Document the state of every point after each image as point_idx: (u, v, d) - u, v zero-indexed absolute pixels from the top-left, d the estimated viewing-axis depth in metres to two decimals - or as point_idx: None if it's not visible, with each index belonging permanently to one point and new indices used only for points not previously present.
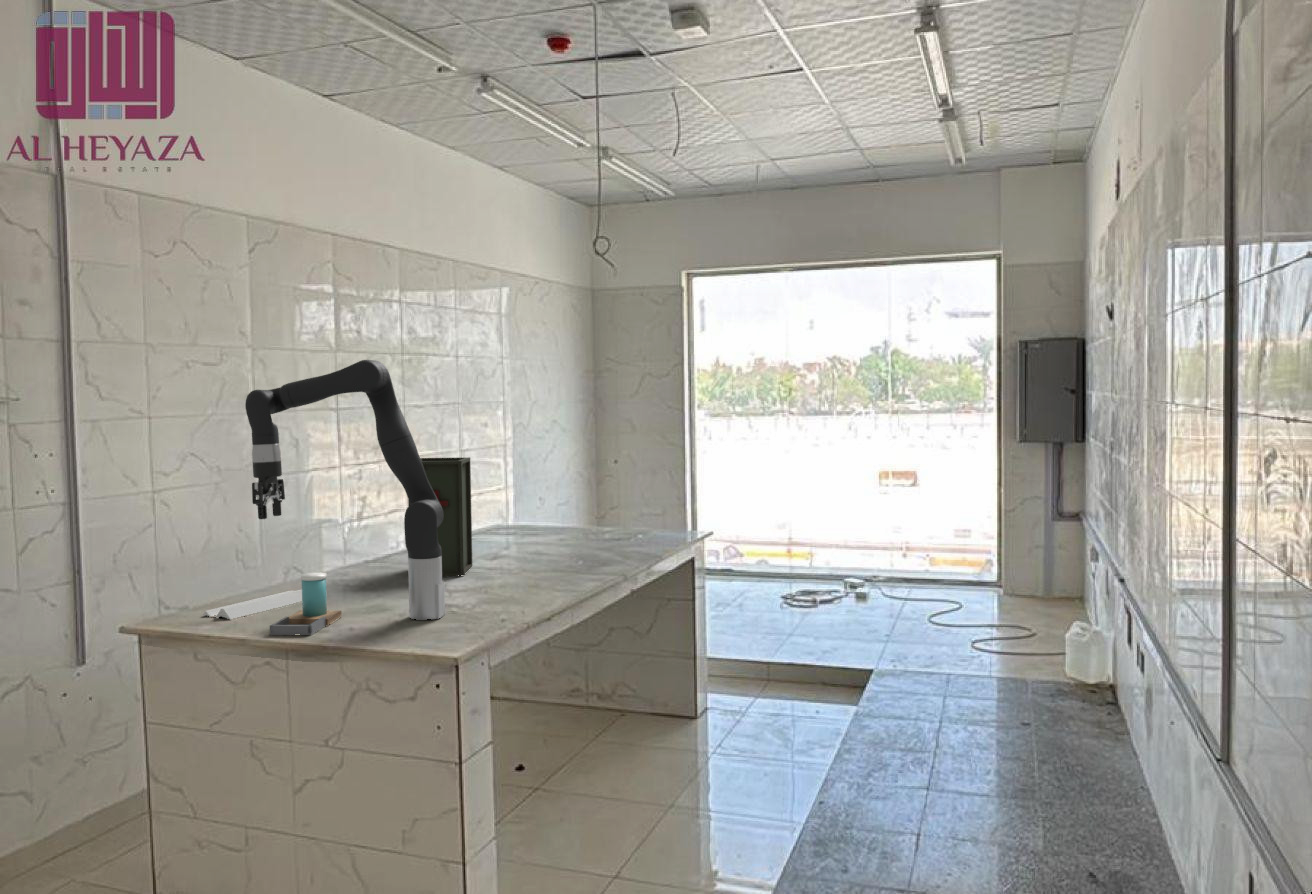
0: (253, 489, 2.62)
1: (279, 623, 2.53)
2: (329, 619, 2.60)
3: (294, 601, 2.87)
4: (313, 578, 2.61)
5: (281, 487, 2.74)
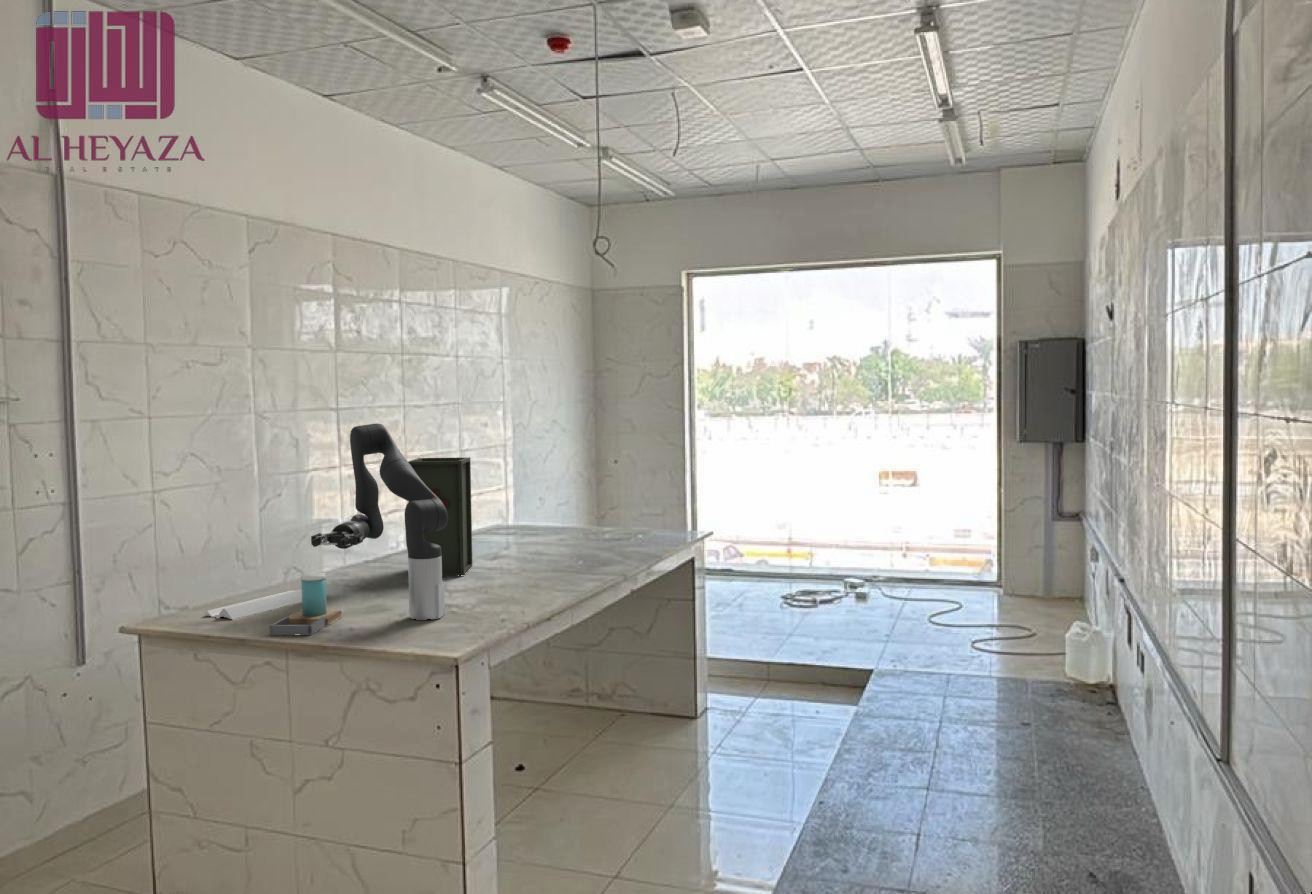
0: None
1: (279, 623, 2.53)
2: (329, 619, 2.60)
3: (295, 601, 2.87)
4: (313, 578, 2.61)
5: None
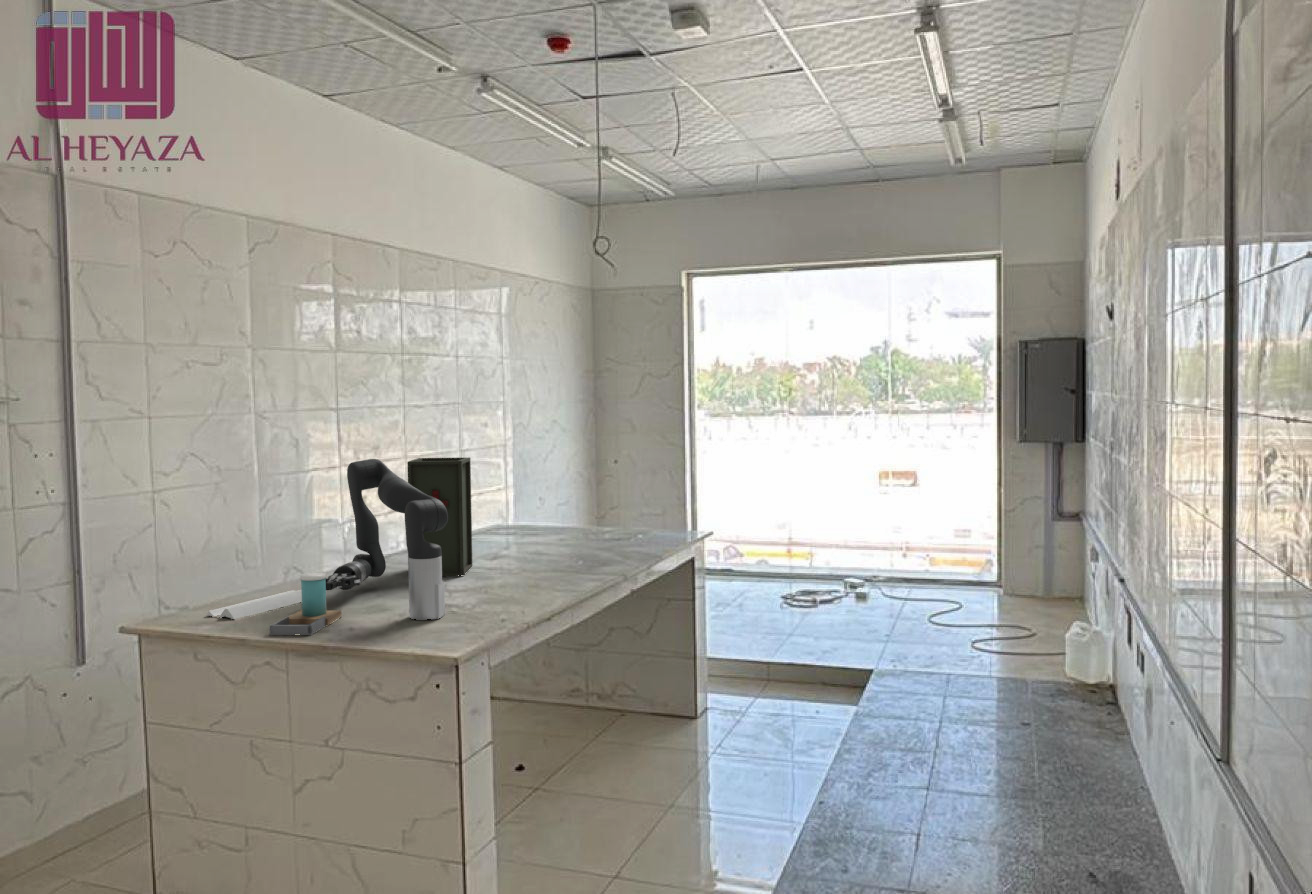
0: None
1: (279, 623, 2.53)
2: (329, 619, 2.60)
3: (297, 601, 2.87)
4: (313, 578, 2.61)
5: None
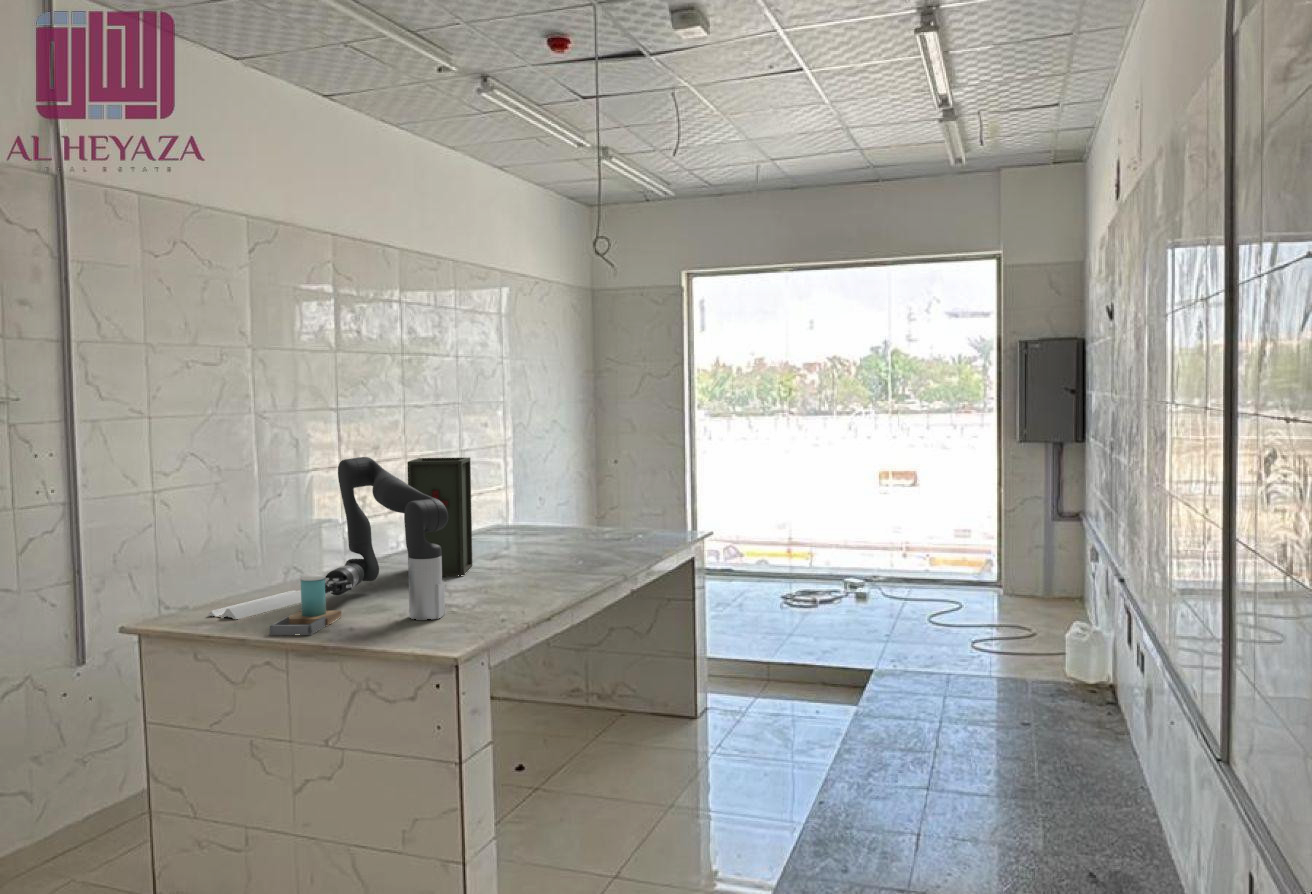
0: None
1: (279, 623, 2.53)
2: (329, 619, 2.60)
3: (298, 601, 2.87)
4: (312, 578, 2.61)
5: None
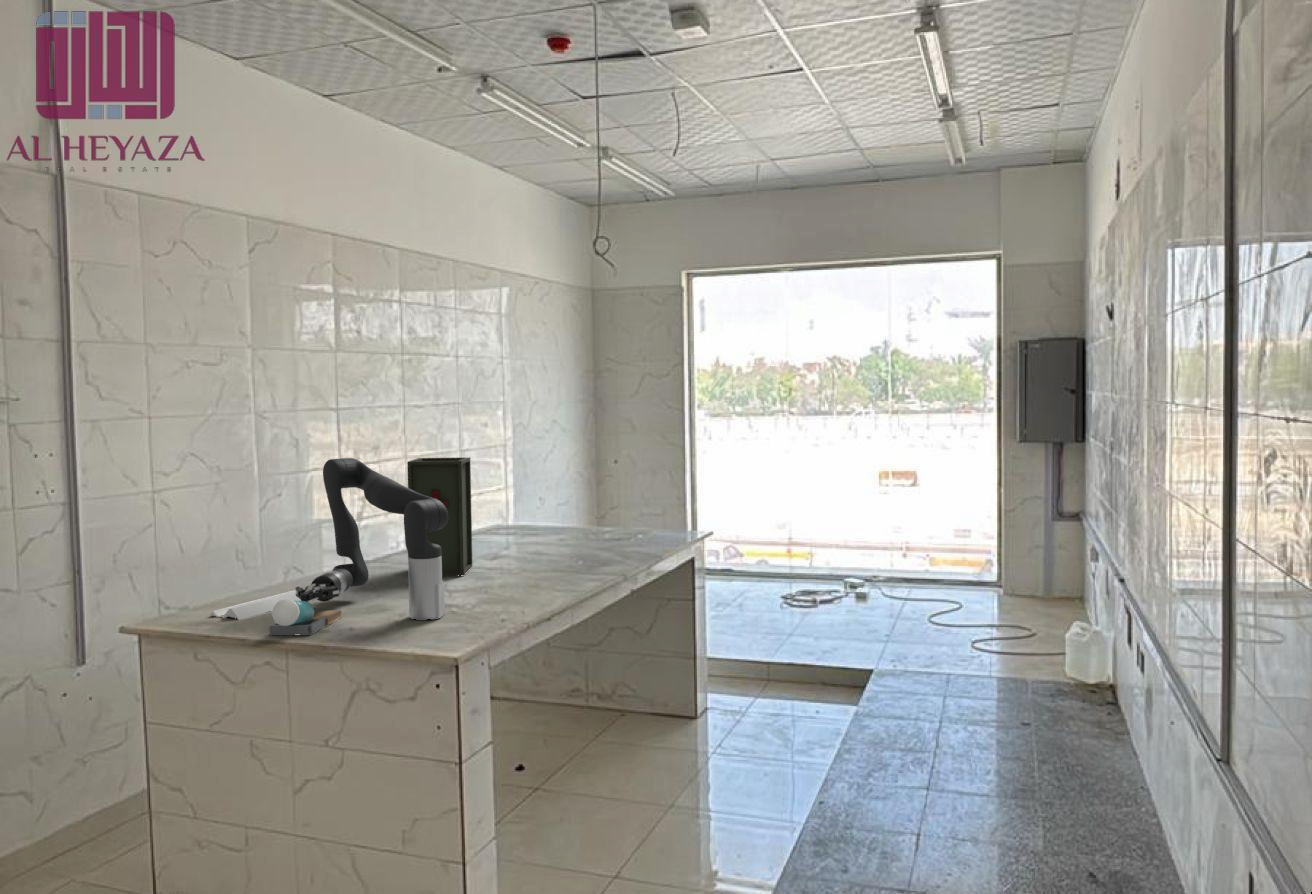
0: (296, 595, 2.65)
1: None
2: (329, 619, 2.60)
3: None
4: (289, 624, 2.46)
5: None
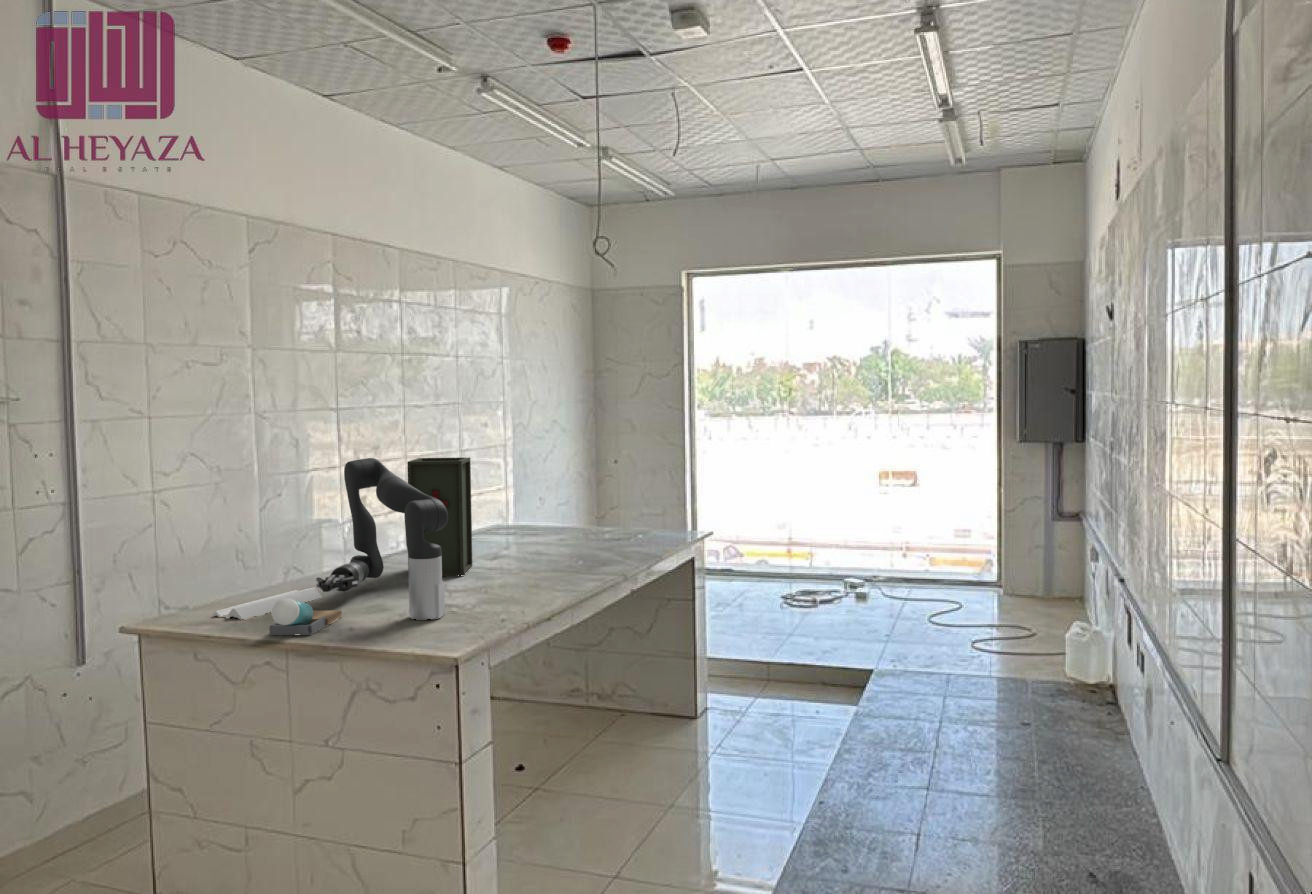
0: (317, 585, 2.80)
1: None
2: (329, 619, 2.60)
3: (301, 600, 2.88)
4: (289, 624, 2.46)
5: None
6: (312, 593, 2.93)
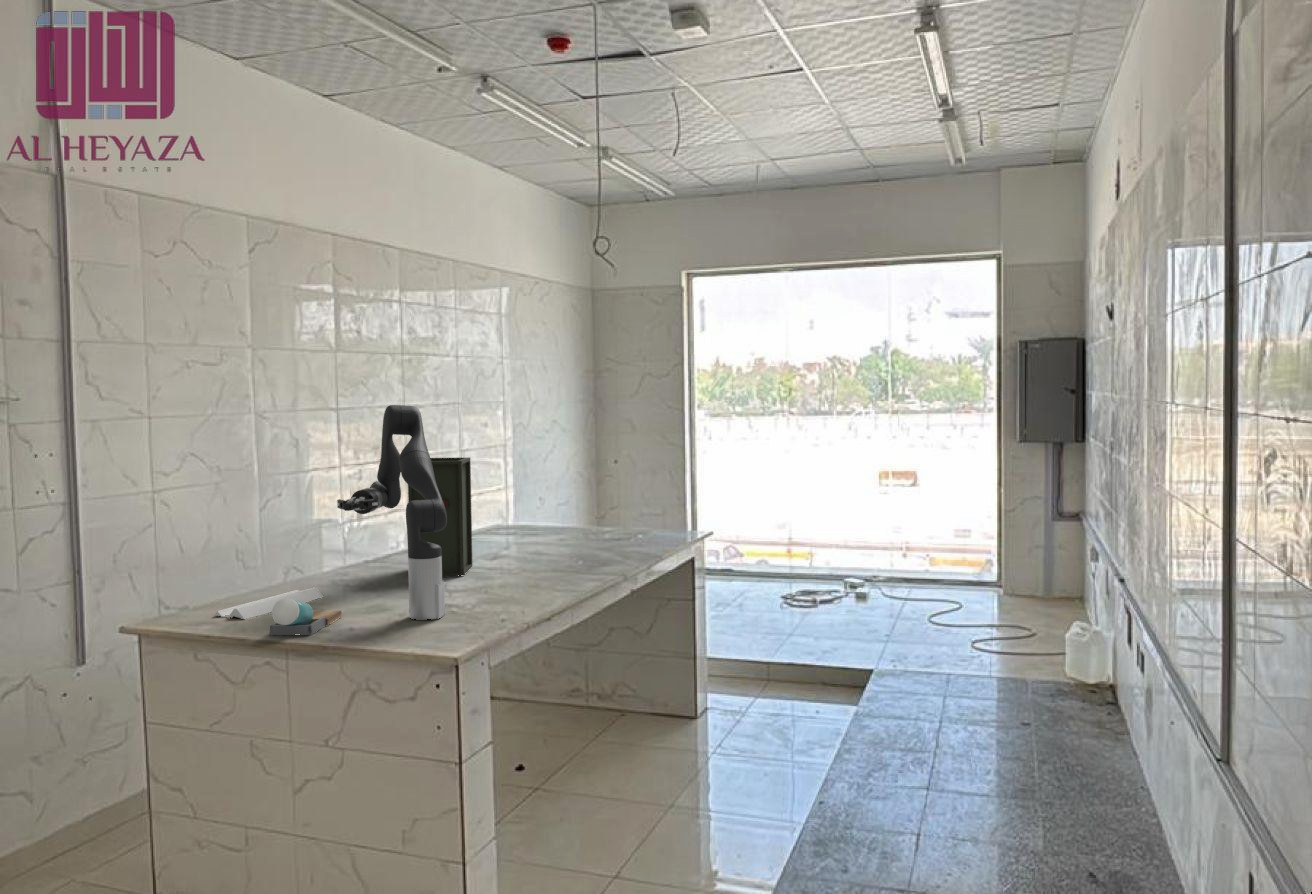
0: (338, 506, 2.86)
1: None
2: (329, 619, 2.60)
3: (303, 600, 2.88)
4: (289, 624, 2.46)
5: None
6: (313, 593, 2.93)
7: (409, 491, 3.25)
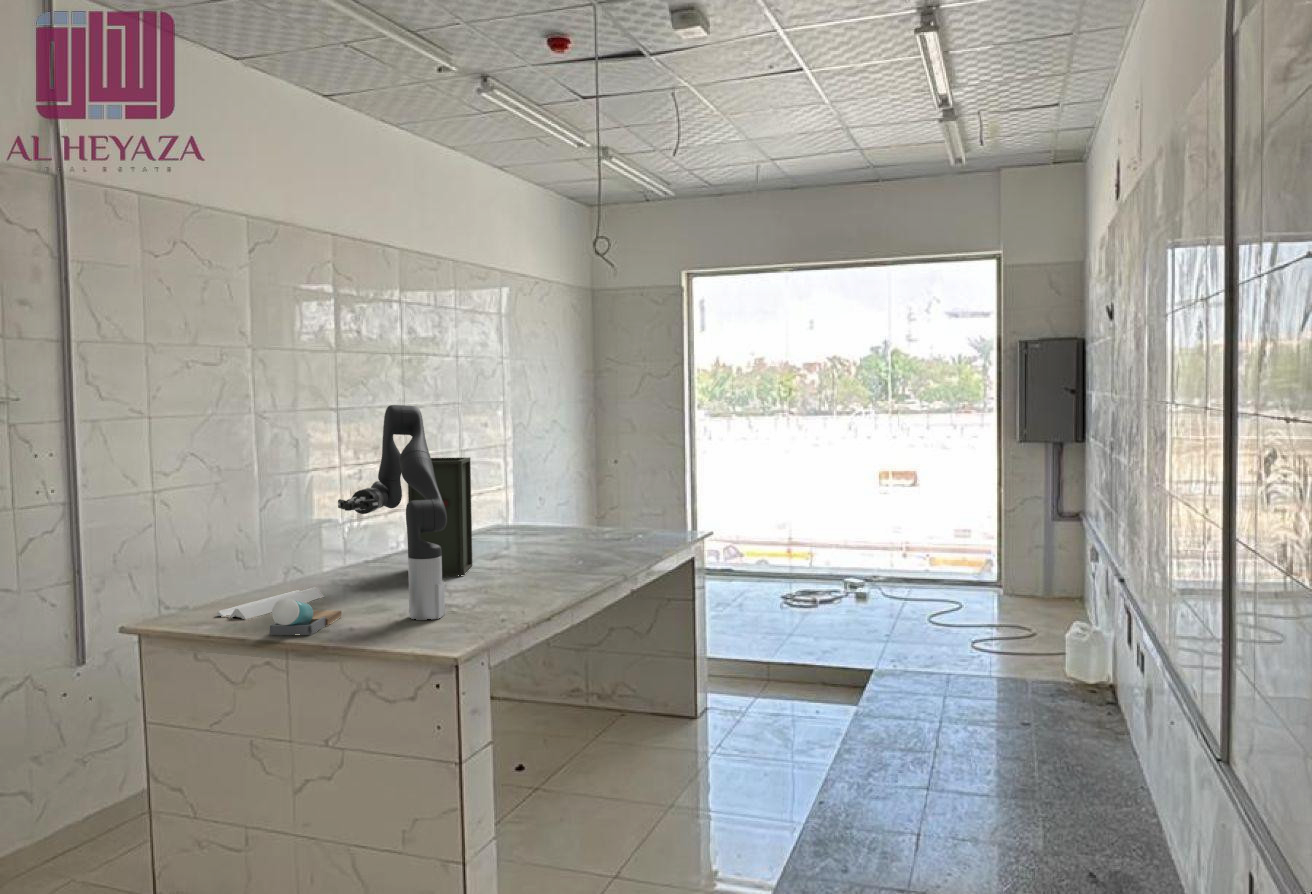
0: (339, 506, 2.86)
1: None
2: (329, 619, 2.60)
3: (304, 600, 2.88)
4: (289, 624, 2.46)
5: None
6: (314, 593, 2.93)
7: (409, 491, 3.25)
